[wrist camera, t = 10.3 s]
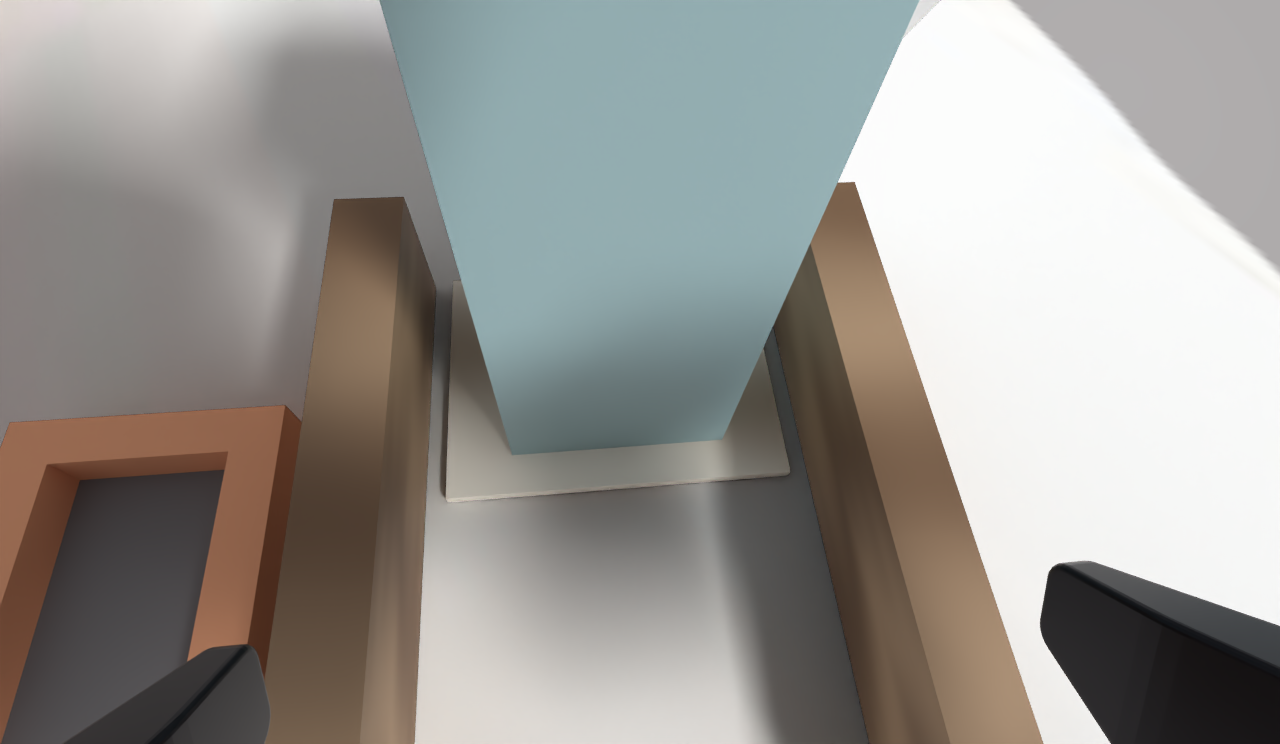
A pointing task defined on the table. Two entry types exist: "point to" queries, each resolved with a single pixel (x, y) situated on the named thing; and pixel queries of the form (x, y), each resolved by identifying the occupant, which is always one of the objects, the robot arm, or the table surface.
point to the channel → (751, 448)
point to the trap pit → (133, 554)
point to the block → (634, 190)
